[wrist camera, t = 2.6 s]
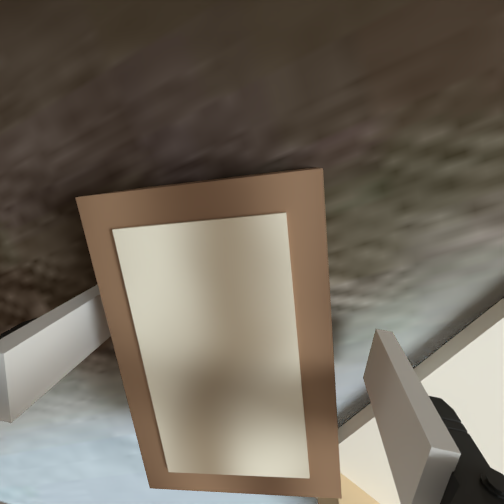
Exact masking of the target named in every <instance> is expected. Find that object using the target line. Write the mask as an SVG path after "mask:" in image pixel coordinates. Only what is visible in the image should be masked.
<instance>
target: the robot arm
mask: <svg viewBox="0 0 504 504" xmlns="http://www.w3.org/2000/svg"><path fill="white" fill-rule="evenodd" d="M110 336H111V334H110V330H109V326H108V323H107V319H106V315H105V311H104V307H103V303H102V299H101V295H100V291H99V287H98V285H96V286H94V287H92V288H90V289H89V290H87V291H85V292H83V293H82V294H80V295H78V296H76V297H74V298H73V299H71V300H69V301H67V302H66V303H64V304H62V305H60V306H58V307H57V308H55V309H53V310H51V311H50V312H48V313H46V314H44V315H42V316H41V317H39V318H35V319H32V320H29V321H26V322H23V323H21V324H19V325H17V326H15V327H13V328H11V330H8V331H6V332H4V333H2V334H1V336H0V420H1V421H5V422H9V423H12V422H13V421H14V420H15V419H16V418H18V417H19V416H20V415H21V414H22V413H23V412H24V411H26V410H27V409H28V408H29V407H30V406H31V405H32V404H34V403H35V402H36V401H37V400H38V399H39V398H40V397H42V396H43V395H44V394H45V393H46V392H47V391H48V390H50V389H51V388H52V387H53V386H54V385H55V384H56V383H58V382H59V381H60V380H61V379H62V378H63V377H64V376H66V375H67V374H68V373H69V372H70V371H71V370H72V369H74V368H75V367H76V366H77V365H78V364H79V363H81V362H82V361H83V360H84V359H85V358H86V357H87V356H89V355H90V354H91V353H92V352H93V351H94V350H95V349H97V348H98V347H99V346H100V345H101V344H102V343H103V342H105V341H106V340H107V339H108V338H109V337H110ZM363 379H364V382H365V385H366V389H367V392H368V396H369V399H370V402H371V406H372V409H373V412H374V416H375V419H376V422H377V426H378V429H379V432H380V436H381V439H382V442H383V446H384V449H385V452H386V456H387V459H388V462H389V466H390V469H391V472H392V476H393V479H394V483H395V486H396V489H397V493H398V496H399V499H400V503H401V504H504V475H503V474H502V473H500V472H498V471H496V470H494V469H492V468H491V467H490V466H489V464H488V463H487V461H486V460H485V458H484V456H483V455H482V453H481V452H480V450H479V449H478V447H477V445H476V444H475V442H474V441H473V439H472V438H471V436H470V434H468V433H467V430H466V428H465V427H464V425H463V424H461V420H460V419H459V417H458V416H457V414H456V412H455V411H454V409H452V408H451V407H450V406H449V405H448V404H447V403H446V402H445V401H444V400H443V399H442V398H438V397H433V396H428V394H427V392H426V391H425V389H424V387H423V385H422V383H421V382H420V380H419V378H418V376H417V375H416V373H415V371H414V369H413V367H412V366H411V364H410V362H409V360H408V359H407V357H406V355H405V353H404V352H403V350H402V348H401V346H400V344H399V343H398V341H397V339H396V337H395V336H394V334H393V332H391V331H385V330H380V329H376V330H375V334H374V338H373V342H372V346H371V349H370V353H369V357H368V361H367V365H366V369H365V373H364V376H363Z"/></svg>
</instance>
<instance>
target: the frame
mask: <svg viewBox="0 0 504 504" xmlns="http://www.w3.org/2000/svg"><path fill="white" fill-rule="evenodd" d="M75 198H76V202H77V206H78V210H79V213H80V217H81V221H82V225H83V229H84V233H85V237H86V241H87V245H88V248H89V252H90V256H91V260H92V264H93V268H94V272H95V276H96V280H97V284H98V287H99V291H100V295H101V299H102V303H103V307H104V311H105V315H106V319H107V323H108V326H109V330H110V334H111V338H112V342H113V346H114V350H115V354H116V358H117V362H118V365H119V369H120V373H121V377H122V381H123V385H124V389H125V393H126V397H127V401H128V404H129V408H130V412H131V416H132V420H133V424H134V428H135V432H136V436H137V440H138V443H139V447H140V451H141V455H142V459H143V463H144V467H145V471H146V475H147V479H148V482H149V486H150V488H155V489H173V490H192V491H210V492H228V493H246V494H265V495H283V496H301V497H320V498H338V499H342V494H341V476H340V459H339V442H338V424H337V407H336V389H335V372H334V355H333V337H332V320H331V302H330V285H329V268H328V250H327V233H326V215H325V198H324V181H323V168H316V167H314V168H306V169H297V170H289V171H280V172H272V173H264V174H255V175H247V176H238V177H230V178H221V179H213V180H204V181H196V182H188V183H179V184H171V185H162V186H154V187H145V188H137V189H130V190H123V191H116V192H109V193H102V194H95V195H88V196H82V197H75Z"/></svg>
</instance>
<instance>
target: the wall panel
mask: <svg viewBox="0 0 504 504" xmlns="http://www.w3.org/2000/svg"><path fill="white" fill-rule="evenodd" d="M414 371H415V373H416V375H417V376H418V378H419V380H420V382H421V383H422V385H423V387H424V389H425V391H426V392H427V394H428V396H433V397H438V398H442V399H443V400H444V401H445V402H446V403H447V404H448V405H449V406H450V407H451V408H452V409H454V411H455V412H456V414H457V416H458V417H459V419H460V420H461V424H463V425H464V427H465V428H466V430H467V433H468V434H470V436H471V438H472V439H473V441H474V442H475V444H476V445H477V447H478V449H479V450H480V452H481V453H482V455H483V456H484V458H485V460H486V461H487V463H488V464H489V466H490V467H491V468H492V469H494V470H496V471H498V472H500V473H502V474H503V475H504V298H503V299H501V300H500V301H499V302H497V303H496V304H495V305H494V306H492V307H491V308H490V309H489V310H487V311H486V312H485V313H484V314H482V315H481V316H480V317H479V318H477V319H476V320H475V321H473V322H472V323H471V324H470V325H468V326H467V327H466V328H465V329H463V330H462V331H461V332H460V333H458V334H457V335H456V336H455V337H453V338H452V339H451V340H449V341H448V342H447V343H446V344H444V345H443V346H442V347H441V348H439V349H438V350H437V351H436V352H434V353H433V354H432V355H430V356H429V357H428V358H427V359H425V360H424V361H423V362H422V363H420V364H419V365H418V366H417V367H415V368H414ZM338 442H339V459H340V476H341V494H342V499H338V498H320V497H315V498H316V499H317V500H318V504H401V503H400V499H399V496H398V493H397V489H396V486H395V483H394V479H393V476H392V472H391V469H390V466H389V462H388V459H387V456H386V452H385V449H384V446H383V442H382V439H381V436H380V432H379V429H378V426H377V422H376V419H375V416H374V412H373V409H372V406H371V403H370V404H369V405H367V406H366V407H365V408H364V409H362V410H361V411H360V412H358V413H357V414H356V415H355V416H353V417H352V418H351V419H350V420H348V421H347V422H346V423H345V424H343V425H342V426H341V427H339V428H338Z"/></svg>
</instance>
